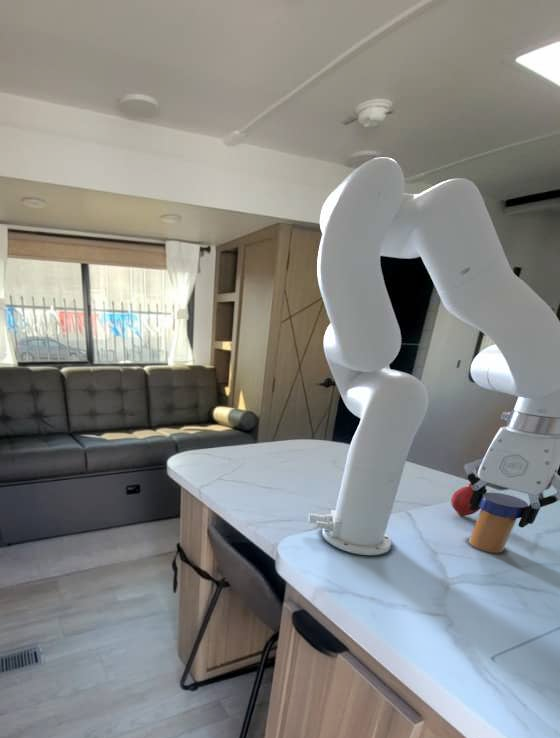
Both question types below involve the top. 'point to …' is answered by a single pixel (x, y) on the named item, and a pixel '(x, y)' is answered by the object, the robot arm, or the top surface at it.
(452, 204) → the robot arm
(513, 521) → the honey jar
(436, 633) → the top surface
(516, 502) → the honey lid
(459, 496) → the red pomegranate
